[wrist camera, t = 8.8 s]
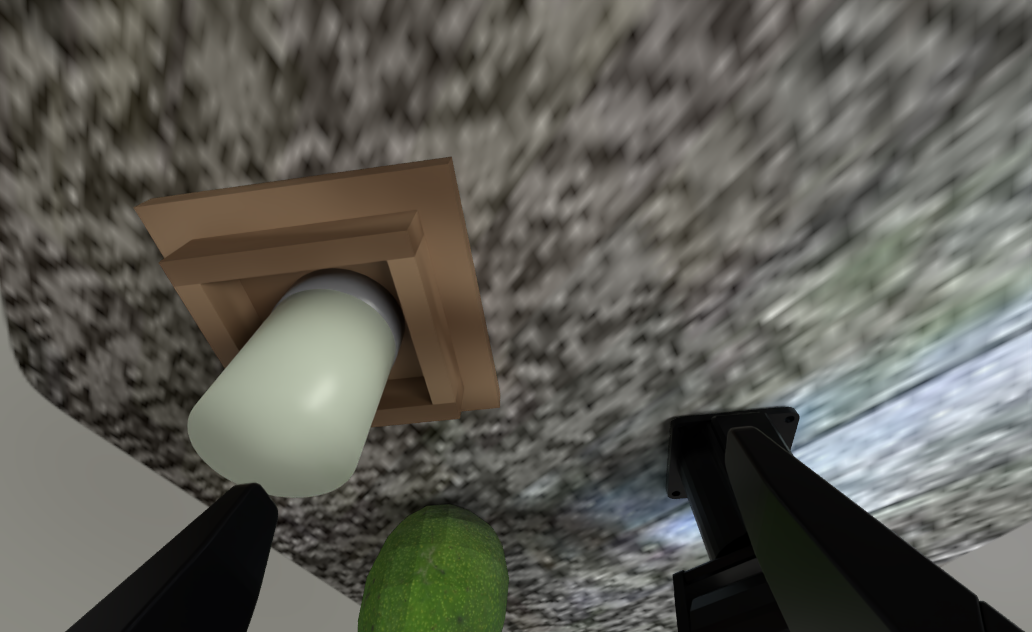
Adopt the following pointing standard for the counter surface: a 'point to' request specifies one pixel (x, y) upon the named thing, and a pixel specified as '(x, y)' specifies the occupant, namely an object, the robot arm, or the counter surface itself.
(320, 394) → the white rounded cylinder
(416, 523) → the avocado
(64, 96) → the counter surface
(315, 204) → the holder
